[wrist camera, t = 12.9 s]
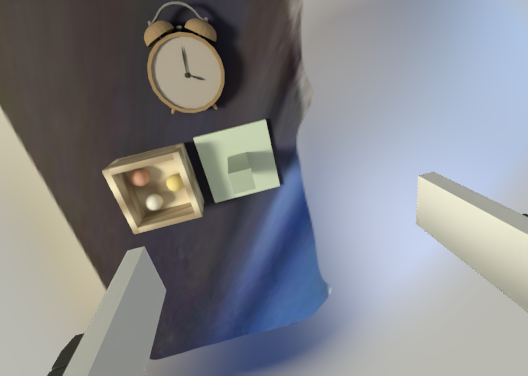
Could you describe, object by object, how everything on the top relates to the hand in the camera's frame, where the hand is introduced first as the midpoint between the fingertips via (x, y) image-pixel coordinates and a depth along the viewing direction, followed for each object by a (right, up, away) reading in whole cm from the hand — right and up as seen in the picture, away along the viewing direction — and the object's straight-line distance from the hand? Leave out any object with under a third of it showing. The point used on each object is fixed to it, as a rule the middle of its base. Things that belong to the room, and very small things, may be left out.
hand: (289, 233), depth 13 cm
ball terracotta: (-23, +5, +34) cm, 41 cm away
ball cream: (-21, 0, +37) cm, 42 cm away
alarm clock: (-13, +22, +30) cm, 40 cm away
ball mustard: (-17, +4, +36) cm, 40 cm away
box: (-20, +3, +37) cm, 42 cm away
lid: (-6, +7, +37) cm, 38 cm away
